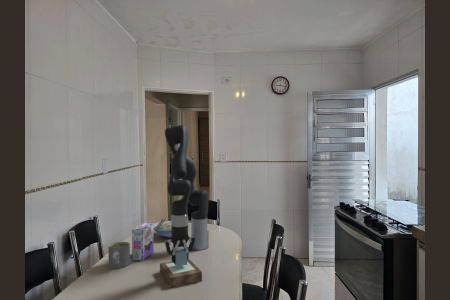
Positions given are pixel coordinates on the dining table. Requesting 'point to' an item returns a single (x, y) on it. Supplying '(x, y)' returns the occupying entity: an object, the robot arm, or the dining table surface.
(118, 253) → the coffee mug
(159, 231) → the ramen bowl
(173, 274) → the walnut base
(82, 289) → the dining table surface
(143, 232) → the candy box
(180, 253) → the slate block
